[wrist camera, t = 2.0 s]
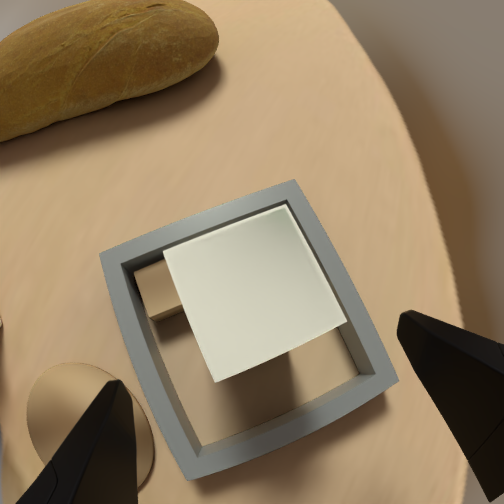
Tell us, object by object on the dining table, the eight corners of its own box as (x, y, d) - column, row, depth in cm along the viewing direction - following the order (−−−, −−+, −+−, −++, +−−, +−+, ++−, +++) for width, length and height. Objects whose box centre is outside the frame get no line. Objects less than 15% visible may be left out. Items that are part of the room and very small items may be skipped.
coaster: (180, 483, 15) (179, 485, 14) (64, 502, 13) (62, 503, 12) (118, 344, 18) (115, 343, 17) (14, 380, 16) (11, 380, 16)
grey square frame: (381, 380, 18) (399, 380, 15) (193, 467, 15) (187, 481, 13) (288, 198, 22) (294, 179, 20) (113, 266, 20) (99, 253, 17)
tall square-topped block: (288, 345, 18) (346, 321, 9) (226, 372, 18) (215, 382, 8) (260, 285, 20) (285, 203, 10) (199, 311, 19) (162, 251, 9)
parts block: (199, 304, 19) (195, 298, 17) (157, 322, 19) (149, 317, 17) (183, 264, 20) (177, 253, 18) (142, 281, 20) (133, 272, 18)
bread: (225, 101, 26) (225, 8, 17) (-47, 174, 22) (-89, 129, 13) (213, 22, 32) (212, -40, 23) (-2, 82, 29) (-26, 39, 19)
